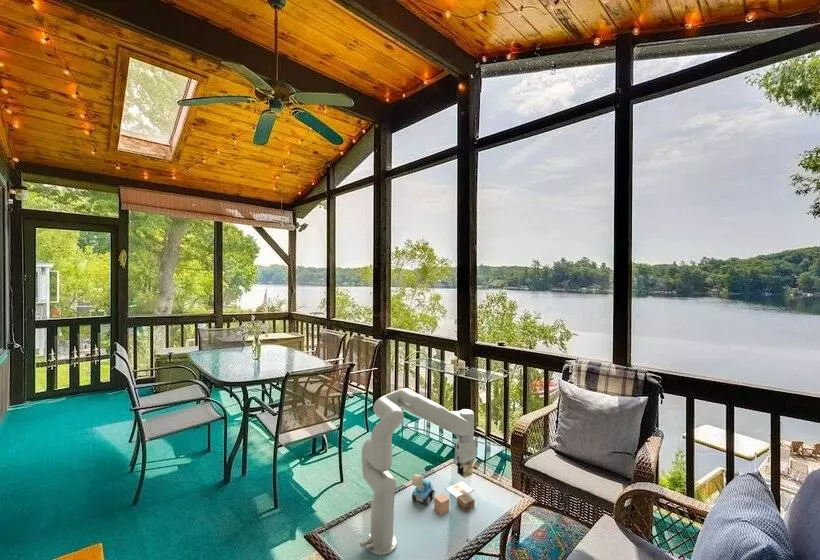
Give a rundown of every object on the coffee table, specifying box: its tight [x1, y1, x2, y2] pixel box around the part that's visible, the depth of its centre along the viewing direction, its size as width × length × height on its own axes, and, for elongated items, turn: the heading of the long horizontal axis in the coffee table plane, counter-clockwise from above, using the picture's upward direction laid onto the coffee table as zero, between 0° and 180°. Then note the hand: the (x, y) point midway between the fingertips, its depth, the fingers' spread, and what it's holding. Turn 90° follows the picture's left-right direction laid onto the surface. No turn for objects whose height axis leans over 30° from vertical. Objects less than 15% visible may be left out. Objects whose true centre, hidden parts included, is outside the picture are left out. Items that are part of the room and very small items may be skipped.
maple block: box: [456, 461, 474, 479], centre depth 182 cm, size 5×5×6 cm
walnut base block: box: [456, 493, 476, 512], centre depth 185 cm, size 6×6×4 cm
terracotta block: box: [433, 493, 450, 515], centre depth 181 cm, size 5×5×6 cm
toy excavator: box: [411, 473, 436, 506], centre depth 186 cm, size 9×17×17 cm, turn 152°
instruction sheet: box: [445, 480, 474, 499], centre depth 198 cm, size 12×9×1 cm
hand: (464, 472), depth 182 cm, fingers closed on maple block, 5 cm apart
